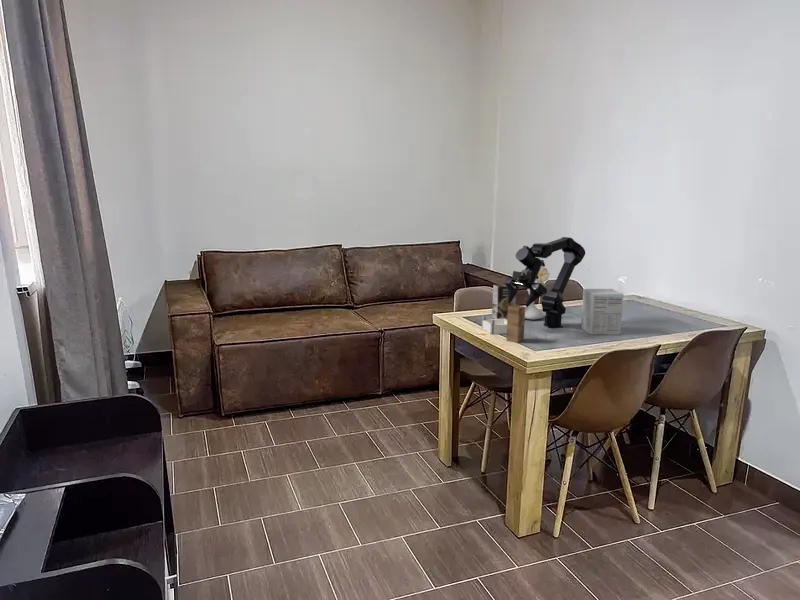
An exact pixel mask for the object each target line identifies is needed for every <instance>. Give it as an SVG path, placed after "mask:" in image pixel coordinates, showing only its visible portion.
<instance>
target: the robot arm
mask: <svg viewBox="0 0 800 600" xmlns="http://www.w3.org/2000/svg"><path fill="white" fill-rule="evenodd" d="M558 251H562V252H563V260H564V262H563V264H562V267H561V269H560V270H559V273H558V275H557V277H556V280H555V281H554V283H553V285H552V288H551V289H550V290H548V289H547V286H546V287H545V286H543V285H542V284H541V283H540V282H539V283H538V282H536V279H538V278H539V277H538V276H537V275H538V273H539V271H540V268H541V267H544V268H546V264H545V261H544V259H548V258H549V257H550V256H552V255H553V253H555V252H558ZM585 256H586V250H585V248H584V247H583V246H582V244H580V243H578V242H577V241H576V240H574V238H572V237H567V236H562V237H560V238H558V239H555V240H553V241H552V240H551V241H549V242H545V243H540V242H539V243H534V244H532V245H531V246H528V245H523V247H522V248H520V249H518V250H517V251H516V253H515V259H516V260H517V261H518V262H520V263H521V264H522V265H523V266H525V268H524V269H522V270H521V271H516V270H513V272H512V277H510V278H509V277H507V278H505V279H504V282H503V284H505V285H506V286H507V287H508V303H511V301H512V300H513V298H514V297H515V295H516V296H517V293H518V289H519V288H522V289H526V290H527V289H530V295H529V294H528V298H527V300H526V302H525V305H524V307H525V308H526V307H528V306H529V305H530V304H531V303H532V302H534V303H535V301H536V300H538V299H539V298H540V297H542V300H541V309H542V313H543V312H544V313H545V315H544V320H543V321H544V323H543V326H545V327H547V328H549V329H554V328H555V329H558V328H563V327H564V326H563V325H562V316H563V315H564V314H566V311H567V308H566V306H564V304H563V303H564V296H563V294H564V291H565V289H566V287H567V285H568V282H569V280H570V278H571V276H572V274H573V271H574V269H575V267H577V265H579V264H580V263H581V262H582V261H583V259H584V258H585Z"/></svg>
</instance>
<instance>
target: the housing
mask: <svg viewBox="0 0 800 600" xmlns="http://www.w3.org/2000/svg"><path fill="white" fill-rule="evenodd" d="M481 316H482V318H481V329H482V328H483V329H482V330H484V331H485V330H486V331H485V332H487V333H488V332H489V333H488V334H490V335H504V334H505V335H507V319H493V318H491V319H490V318H489V319H486V318H487V317H486V316H487V315H486V314H485V315H484V314H483V315H481Z"/></svg>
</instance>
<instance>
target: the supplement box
mask: <svg viewBox="0 0 800 600" xmlns="http://www.w3.org/2000/svg"><path fill="white" fill-rule="evenodd" d="M624 295H625V294H623V292H620V291H618V290H615V289H613V288H583V291H582V307H581V323H580V327H581V329H583V330H584V331H585V332H587V333H588V334H589V335H604V336H605V335H612V336H613V335H614V336H615V335H619V336H620V335H621V330H622V329H621V327H622V317H623V304H624Z"/></svg>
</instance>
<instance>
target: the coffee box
mask: <svg viewBox="0 0 800 600" xmlns="http://www.w3.org/2000/svg"><path fill="white" fill-rule="evenodd" d="M516 299H517V294H516V295H515V297H514V298H513V300H512V301H511V303H508V287H507V286H506V285H505V284H504V283H503V284H493V287H492V303H491V304H492V305H491V306H492V307H491V308H492V309H491V319H493V318H494V319H507V314H508V307H509V306H513V305H516V301H517V300H516Z"/></svg>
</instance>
